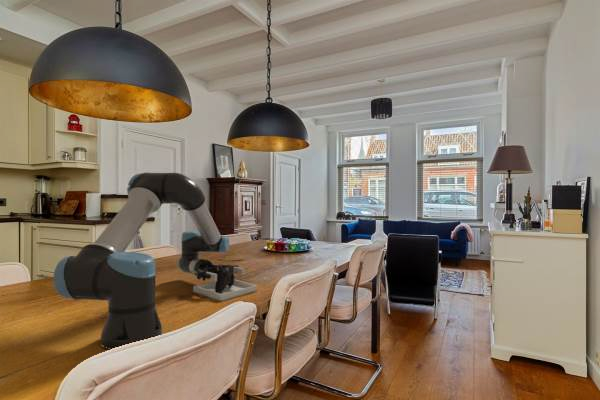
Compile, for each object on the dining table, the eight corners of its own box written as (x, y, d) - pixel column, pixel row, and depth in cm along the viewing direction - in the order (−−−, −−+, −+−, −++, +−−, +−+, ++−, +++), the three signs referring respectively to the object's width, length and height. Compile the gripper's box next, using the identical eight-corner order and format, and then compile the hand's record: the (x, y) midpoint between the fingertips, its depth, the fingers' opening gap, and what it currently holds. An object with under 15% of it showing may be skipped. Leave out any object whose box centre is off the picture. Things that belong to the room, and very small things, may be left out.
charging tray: (220, 301, 126) (220, 294, 126) (193, 291, 138) (193, 285, 138) (257, 291, 139) (257, 285, 139) (229, 283, 152) (229, 278, 152)
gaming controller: (225, 295, 131) (225, 270, 131) (211, 294, 132) (211, 269, 132) (238, 286, 145) (239, 263, 145) (225, 285, 146) (226, 262, 146)
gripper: (224, 271, 160) (253, 278, 146) (175, 281, 141) (203, 290, 127) (224, 255, 160) (253, 261, 146) (175, 263, 141) (203, 270, 127)
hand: (230, 274), depth 136 cm, fingers open, 13 cm apart
